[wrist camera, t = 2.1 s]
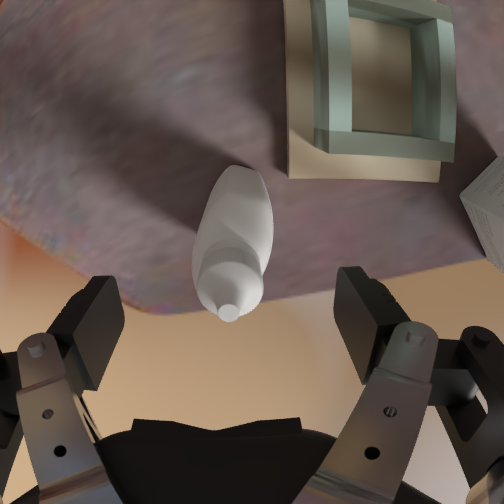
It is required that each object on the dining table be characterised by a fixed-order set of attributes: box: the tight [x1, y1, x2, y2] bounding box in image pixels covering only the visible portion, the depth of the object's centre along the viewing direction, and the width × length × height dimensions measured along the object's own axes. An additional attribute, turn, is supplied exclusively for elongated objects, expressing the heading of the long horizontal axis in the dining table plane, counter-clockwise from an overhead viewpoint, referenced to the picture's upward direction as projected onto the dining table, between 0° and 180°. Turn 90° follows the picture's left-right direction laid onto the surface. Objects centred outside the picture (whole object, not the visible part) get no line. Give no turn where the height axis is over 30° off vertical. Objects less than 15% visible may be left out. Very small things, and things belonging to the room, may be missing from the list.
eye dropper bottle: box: [192, 165, 273, 322], centre depth 16 cm, size 4×6×12 cm
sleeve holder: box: [283, 0, 457, 183], centre depth 16 cm, size 14×11×4 cm
